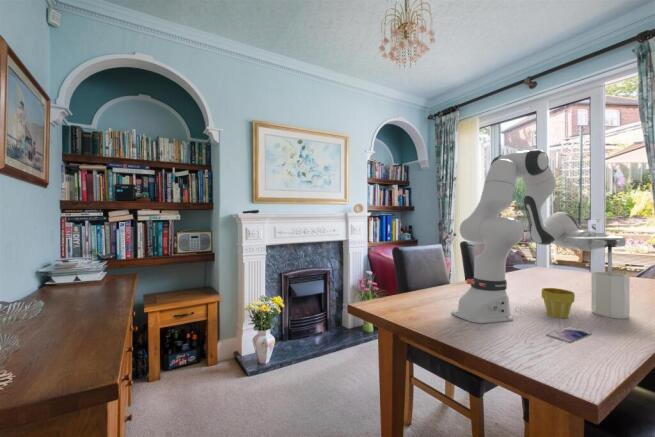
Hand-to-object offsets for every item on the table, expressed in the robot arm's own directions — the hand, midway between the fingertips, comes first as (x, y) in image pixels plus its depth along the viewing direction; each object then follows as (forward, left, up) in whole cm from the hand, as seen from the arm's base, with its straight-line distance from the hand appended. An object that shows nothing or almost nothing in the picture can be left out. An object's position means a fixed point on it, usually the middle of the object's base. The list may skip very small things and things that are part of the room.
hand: (611, 243), depth 117 cm
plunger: (0, +1, -20) cm, 20 cm away
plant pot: (-20, +9, -29) cm, 36 cm away
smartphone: (-38, -4, -29) cm, 48 cm away
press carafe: (+2, +1, -29) cm, 29 cm away
